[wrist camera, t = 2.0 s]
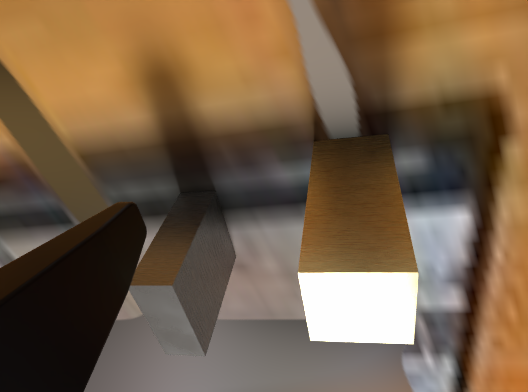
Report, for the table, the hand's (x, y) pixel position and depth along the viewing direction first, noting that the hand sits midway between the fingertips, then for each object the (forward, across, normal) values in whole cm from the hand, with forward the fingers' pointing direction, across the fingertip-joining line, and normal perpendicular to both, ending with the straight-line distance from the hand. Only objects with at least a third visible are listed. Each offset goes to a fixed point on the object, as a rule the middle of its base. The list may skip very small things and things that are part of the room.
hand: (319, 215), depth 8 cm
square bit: (+12, -1, +6) cm, 14 cm away
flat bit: (+12, +9, +11) cm, 19 cm away
